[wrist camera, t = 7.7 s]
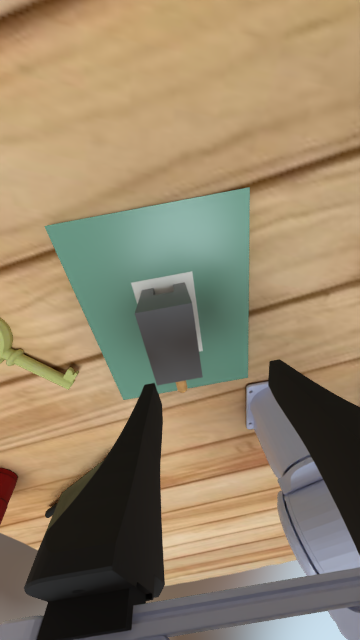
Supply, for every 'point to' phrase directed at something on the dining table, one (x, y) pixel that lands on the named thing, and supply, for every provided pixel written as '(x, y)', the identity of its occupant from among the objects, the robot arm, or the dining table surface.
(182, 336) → the block
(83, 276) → the board
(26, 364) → the key
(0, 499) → the plastic cup
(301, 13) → the dining table surface
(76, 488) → the handheld radio
